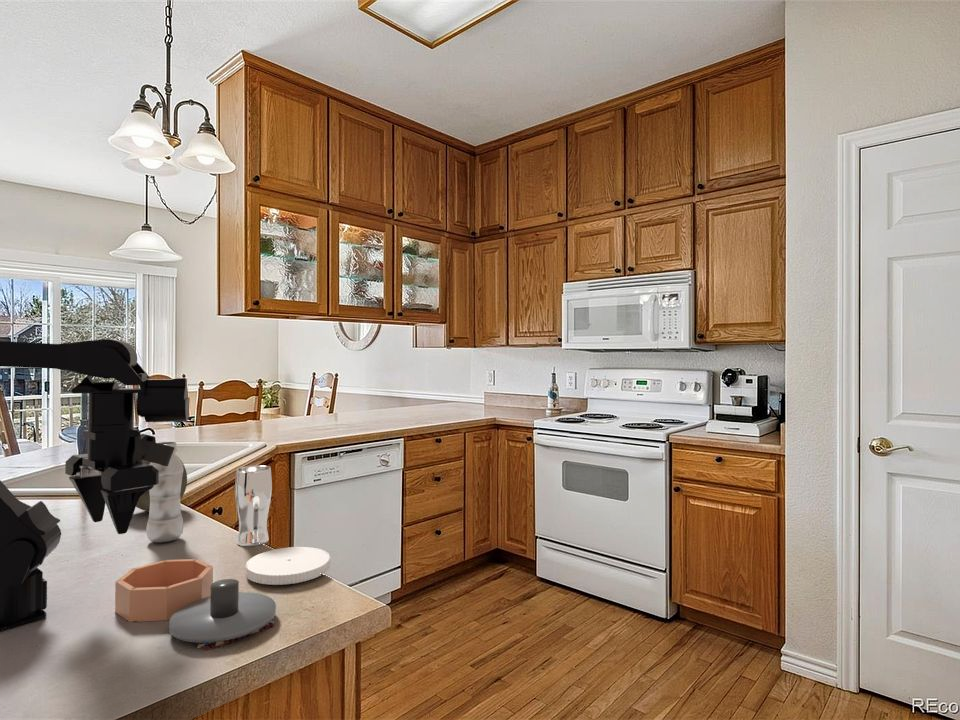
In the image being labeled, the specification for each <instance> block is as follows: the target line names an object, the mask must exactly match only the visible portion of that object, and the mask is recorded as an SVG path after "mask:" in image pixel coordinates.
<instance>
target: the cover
mask: <svg viewBox="0 0 960 720" xmlns="http://www.w3.org/2000/svg"><path fill="white" fill-rule="evenodd" d="M239 583H240V582H239V580H237V579H235V578H225V579H224V578H223V579H219V580H216V581H213V583H212V584H211V596H210V597H206V598H203V599H200V600H197V601H194V602H192V603H190V604H188V605H186V606H184V607H182V608H181V609H179V610H178V611H176V612H175V613H174V614H173V615H172V617H171V618H170V619H169V621H168V630H169V633H170V634H171V636H172V637H174V638H175V639H178V640H180V641H184V642H189V643H198V644H199V643H207V642H213V643H215V642H218V641H224V640H228V641H230V640H229V639H234V640H235V639H236V638H238V637H240V638H241V637H243V636H244V635H246V636H247V635H248V634H250V633H252V632H254V631H256V630H258V629H260V628H264V626H265V625H266V624H268V623H269V622H270V621H271V620H272V619H273V618H274V619H275V615H276V612H277V606H276V605H277V604H276V602H275V600H274V599H273V598H272V597H270V596H268V595H267V594H266V595H265V594H262V593H258V592H257V593H256V592H249V591H243V592H242V591H240V590H239V588H240V587H239V586H240V585H239ZM274 619H273V620H274ZM273 620H272V621H273Z"/></svg>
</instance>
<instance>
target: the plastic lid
mask: <svg viewBox="0 0 960 720" xmlns="http://www.w3.org/2000/svg"><path fill="white" fill-rule="evenodd" d="M330 568H331V555H330V554H329V552H328V551H325V549H324V550H323V549H321V548H316V547H309V546H290V547H281V548H275V549H271V550H267V551H263V552H262V553H258V554H256V555H254V556H252V557H251V558H249V559H248V560H247V562H246V563H245V576H246V578H247V580H249V581H251V582H253V583H257V584H261V585H268V586H269V585H273V586H279V585H281V586H282V585H285V586H286V585H290V584H299V583H302V582H306V581H310V580H313V579H316V578H319V577H321V576H322V575H324V574H326V573H327V572H328V571H329V570H330ZM320 573H321V574H322V575H321V574H320Z"/></svg>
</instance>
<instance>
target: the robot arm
mask: <svg viewBox="0 0 960 720" xmlns="http://www.w3.org/2000/svg"><path fill="white" fill-rule="evenodd" d="M0 367H5V368H6V367H7V368H9V367H11V368H29V369H30V368H33V369H56V370H60V371H62V370H63V371H66V372H71V373H75V374H80V375H85V377H83V379H82V380H81V382H80V383H79V384H77V385H76V386H75V387H73V388H72V389H70V391H71V393H72V394H88V400H87V402H88V404H87V405H88V408H87V410H88V411H87V415H88V416H87V429H83V430H82V437H83V438H86V439H87V453H80V454H72V455H70V457H69V458H68V459H67V460H66V461H65V472H64V473H65V475H68V480H69V481H70V482H71V483H72V486H73V487H74V489H75V490H76V492H77V494H78V496H79V498H80V499H81V501H82V503H83V505H84V507H85V509H86V510H87V511H86V512H87V513H88V515H89V516H90V518H91V520H92V521H93V523H99V522H100V523H101V522H102V521H103V518H104V513H105V510H106V509H105V508H106V507H107V510H108V513H109V516H110V519H111V521H112V524H113V526H114V528H115V531H116V533H117V534H118V535H122V534H123V535H124V534H126V533H128V531H129V528H130V524H131V522H132V520H133V517H134V514H135V510H136V508H137V507H136V505H137V503H138V500H139V498H140V497H141V496H142V495H143V494H144V493H145V492H146V491H148V490H151V489H152V488H153V487H154V485H157V484H159V471H158V470H157V469H156V468H155V467H153V466H152V465H149V464H145V463H142V460H145V461H148V462H152V463H156V464H160V465H162V466H168V464H169V462H170V459H171V456H172V454H173V451H174V449H175V447H171V446H167V445H163V444H159V442H156V441H157V440H156V436H154V435H149V434H146V433H141V431H139V429H137V428H134V424H135V422H134V420H135V419H134V418H135V417H134V416H135V415H134V411H135V410H134V409H135V408H134V407H135V394H136V415H137V416H138V417H140V418H144V421H145V422H146V423H170V422H172V423H173V422H178V423H180V422H188V421H189V415H190V397H189V389H188V378H186V377H176V378H161V379H160V378H155V379H154V378H153V379H152V378H151V376H149V374H148V373H147V372H146V371H145V370H144V369H143V367H142V366H141V365H140V364H139V363H138V354H137V352H136V350H135V348H134V347H133V346H132V345H131V344H129V342H126V341H124V340H118V339H110V338H109V339H107V338H106V339H94V340H83V341H81V340H80V341H74V342H64V343H45V342H44V343H43V342H26V341H25V342H23V341H10V340H9V341H7V340H5V341H3V340H0ZM92 377H94V378H95V377H96V378H99V379H115V380H117V381H118V382H119V383H121V384H123V385H125V386H140V388H120V384H119V383H118V382H117V381H95V380H94V379H93V378H92ZM60 522H61V519H59V517H58V518H57V517H56V516H54V515H53V514H52V513H51V512H50V510H49V509H48V507H47V505H46V504H45V503H44V502H43V501H42V500H40V501H37V502H36V503H35V504H34V505H32V506H31V505H29V504H28V503H25V502H22V500H19V499H18V498H17V497H16V496H15V495H14V494H13V492H11V491H10V489H9V488H8V487H7V486H6V485H5V484H4V483H3V481H1V480H0V632H1V631H3V630H7V629H10V628H14V627H17V626H20V625H23V624H24V625H25V624H27V623H30V622H34V621H38V620H42V619H43V618H46V617H47V612H46V611H45V610H46V609H47V607H48V580H46V579H44V577H43V576H44V575H43V574H44V573H43V571H42V570H41V569H39V568H38V567H40V566H41V565H42V564H43V563H44V561H45V559H46V558H47V557H48V556H49V555H50V554H51V553H52V552H53V551H55V549H56V548H57V547H58V545H59V544H60V541H61V536H62V531H61V530H62V529H60V526H59V525H58V524H59V523H60Z"/></svg>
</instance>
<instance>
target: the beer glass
mask: <svg viewBox="0 0 960 720" xmlns="http://www.w3.org/2000/svg"><path fill="white" fill-rule="evenodd" d="M271 469H272V468H271V466H267V465H247V466H241V467H238V468H237V469H236V475H235V481H234V482H235V484H234V486H235V487H234V497H235V507H236V512H237V517H238V534H237V539H236V544H237V546H239V545H240V547H245V546H246V547H245V548H247V547H256V546H257V547H258V546H261V544H262V545H264V544H266V543H268V542H269V533H268V517H269V510H270V505H271V498H272V490H273V482H272V480H273V479H272V470H271ZM253 540H254V541H253ZM259 543H260V544H259Z"/></svg>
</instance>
